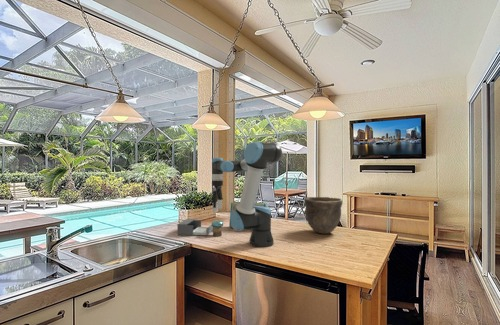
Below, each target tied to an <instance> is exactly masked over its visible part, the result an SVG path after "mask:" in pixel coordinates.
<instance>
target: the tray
mask: <svg viewBox="0 0 500 325" xmlns="http://www.w3.org/2000/svg"><path fill="white" fill-rule="evenodd" d="M211 233H213V226H212V223H211V224H210V225H209V226H201V227H197V228H196V229H195V230H193V235H196V236H209V234H211Z"/></svg>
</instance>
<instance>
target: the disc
mask: <svg viewBox="0 0 500 325" xmlns="http://www.w3.org/2000/svg"><path fill="white" fill-rule="evenodd" d="M211 224H212V226H214V227H220V226H222V227H223V226H224V220H212V221H211Z"/></svg>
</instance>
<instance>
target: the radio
mask: <svg viewBox="0 0 500 325" xmlns="http://www.w3.org/2000/svg"><path fill="white" fill-rule="evenodd" d="M240 200H241V198H240V199H235V200H234V201H232V202H231V203H230V213H229V215H230V214H231V212H232V211H235V210H236V206H237V205H238V204H240ZM256 201H259V200H257V199H256ZM254 206H263V207H268V208H269V206H268V204H267V203H266V202H265V201H261V200H260V202H255V204H254ZM228 225H229V227H230V228H231V229H234V228H233V227H232V225H231V222H230V221H229V224H228ZM248 230H249V231H252V229H247V230H246V231H248Z"/></svg>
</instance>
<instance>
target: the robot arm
mask: <svg viewBox="0 0 500 325" xmlns="http://www.w3.org/2000/svg"><path fill="white" fill-rule="evenodd" d="M243 157H244V158H243V159H240V160H224V159H223V157H213V158H212V159H211V160H212V161H211V180H212V182H211V186H213V188H212V189H213V190H212V197H211V201H210V202H211V204H212V213H215V214H216V213H218V210H222V209H223V208H222V206H223V205H222V201H223V199H224V198H223V192H222V191H223V190H222V187H223V186H224V180H223V179H224V176H225V175H224V173H236V172H237V173H238V172H239V173H241V172H242V173H243V172H244V173H246V175H245V178H244V182H243V187H242V193H241V197H240V199H241V200H240V199H239V202H240V204H238V205H237V206H236V210H235V211H232V212H231V214H230V213H229V223H230V222H231V225H232V227H233V228H232V229H234V230H235V231H237V232H238V231H239V232H240V231H241V232H242V231H245V230H246V231H248V230H247V229H252V230H251V234H250V237H249V240H248V241H249V245H250V246H252V247H257V248H258V247H259V248H265V247H266V248H268V247H271V246H273V245H274V243H275V242H274V238H273V237H274V236H273V234H272V227H271V226H272V225H271V224H272V210H271V208H270V207H269V206H268V207H263V206H254V204H255V203H256V201H257V196H258V191H259V189H260V188H259V187H260V183H261V179H262V175H263V172H264V171H265V170H266V169H267V167H268V165H271V164H276V163H278V162H280V161H281V159H282V157H283V150H282V147H281V146H280V145H279V144H277V143H275V142H261V141H252V142H250V143H248V144H247V145H246V147H245V148H244V151H243Z"/></svg>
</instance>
